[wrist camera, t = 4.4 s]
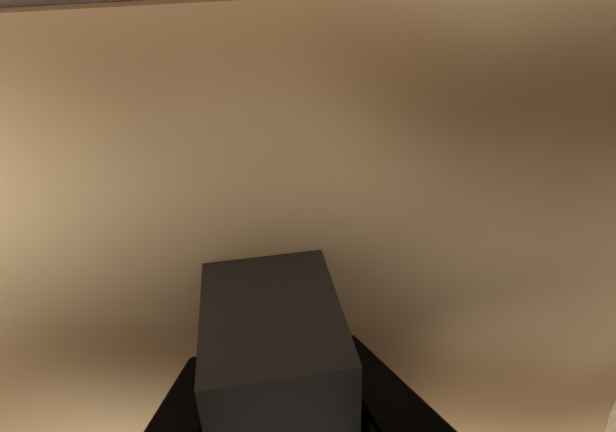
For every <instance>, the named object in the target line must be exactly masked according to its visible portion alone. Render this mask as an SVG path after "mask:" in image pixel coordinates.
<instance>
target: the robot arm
mask: <svg viewBox="0 0 616 432" xmlns="http://www.w3.org/2000/svg"><path fill="white" fill-rule="evenodd" d="M351 336H352V339H353V342H354V345H355V347H356V350H357V353H358V356H359V359H360V362H361V365H362V403H361V432H457V431H456V430H455V429H454V428H453V427H452V426H451V425H450V424H449V423H448V422H447V421H446V420H444V419H443V418H442V417H441V416H440V415H439V414H438V413H437V412H436V411H435V410H434V409H433V408H432V407H431V406H430V405H428V404H427V403H426V402H425V401H424V400H423V399H422V398H421V397H420V396H419V395H418V394H417V393H416V392H415V391H413V390H412V389H411V388H410V387H409V386H408V385H407V384H406V383H405V382H404V381H403V380H402V379H401V378H400V377H398V376H397V375H396V374H395V373H394V372H393V371H392V370H391V369H390V368H389V367H388V366H387V365H386V364H385V363H383V362H382V361H381V360H380V359H379V358H378V357H377V356H376V355H375V354H374V353H373V352H372V351H371V350H370V349H368V348H367V347H366V346H365V345H364V344H363V343H362V342H361V341H360V340H359V339H358V338H357V337H356V336H354V335H351ZM195 372H196V356H192V357H190V358H189V359H188V361H187V362H186V364H185V366H184V367H183V369H182V370H181V372H180V374H179V375H178V377H177V378H176V380H175V382H174V383H173V385H172V387H171V388H170V390H169V391H168V393H167V395H166V396H165V398H164V399H163V401H162V403H161V404H160V406H159V408H158V409H157V411H156V412H155V414H154V416H153V417H152V419H151V420H150V422H149V424H148V425H147V427H146V429H145V430H144V432H202V427H201V422H200V418H199V413H198V408H197V403H196V398H195V393H194V388H195Z"/></svg>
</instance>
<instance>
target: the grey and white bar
mask: <svg viewBox="0 0 616 432" xmlns="http://www.w3.org/2000/svg"><path fill="white" fill-rule="evenodd" d="M194 393H195V398H196V403H197V408H198V413H199V418H200V422H201V427H202V432H361V403H362V365H361V362H360V359H359V356H358V353H357V350H356V347H355V345H354V342H353V339H352V336H351V333H350V330H349V327H348V325H347V322H346V319H345V316H344V313H343V310H342V307H341V305H340V302H339V299H338V296H337V293H336V290H335V287H334V284H333V282H332V279H331V276H330V273H329V270H328V267H327V264H326V262H325V259H324V256H323V253H322V250H314V251H305V252H297V253H288V254H279V255H271V256H262V257H253V258H245V259H236V260H228V261H219V262H210V263H202V277H201V293H200V309H199V324H198V340H197V356H196V372H195V388H194Z"/></svg>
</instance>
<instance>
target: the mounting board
mask: <svg viewBox="0 0 616 432" xmlns="http://www.w3.org/2000/svg"><path fill="white" fill-rule="evenodd" d="M314 250H322V253H323V256H324V259H325V262H326V264H327V267H328V270H329V273H330V276H331V279H332V282H333V284H334V287H335V290H336V293H337V296H338V299H339V302H340V305H341V307H342V310H343V313H344V316H345V319H346V322H347V325H348V327H349V330H350V333H351V335H354V336H356V337H357V338H358V339H359V340H360V341H361V342H362V343H363V344H364V345H365V346H366V347H367V348H368V349H370V350H371V351H372V352H373V353H374V354H375V355H376V356H377V357H378V358H379V359H380V360H381V361H382V362H383V363H385V364H386V365H387V366H388V367H389V368H390V369H391V370H392V371H393V372H394V373H395V374H396V375H397V376H398V377H400V378H401V379H402V380H403V381H404V382H405V383H406V384H407V385H408V386H409V387H410V388H411V389H412V390H413V391H415V392H416V393H417V394H418V395H419V396H420V397H421V398H422V399H423V400H424V401H425V402H426V403H427V404H428V405H430V406H431V407H432V408H433V409H434V410H435V411H436V412H437V413H438V414H439V415H440V416H441V417H442V418H443V419H444V420H446V421H447V422H448V423H449V424H450V425H451V426H452V427H453V428H454V429H455V430H456V431H457V432H603V430H604V427H605V425H606V422H607V419H608V417H609V414H610V411H611V409H612V406H613V403H614V401H615V398H616V0H139V1H120V2H101V3H81V4H62V5H43V6H24V7H5V8H0V432H144V430H145V429H146V427H147V425H148V424H149V422H150V420H151V419H152V417H153V416H154V414H155V412H156V411H157V409H158V408H159V406H160V404H161V403H162V401H163V399H164V398H165V396H166V395H167V393H168V391H169V390H170V388H171V387H172V385H173V383H174V382H175V380H176V378H177V377H178V375H179V374H180V372H181V370H182V369H183V367H184V366H185V364H186V362H187V361H188V359H189V358H190V357H192V356H197V340H198V324H199V309H200V293H201V277H202V263H210V262H219V261H228V260H236V259H245V258H253V257H262V256H271V255H279V254H288V253H297V252H305V251H314Z"/></svg>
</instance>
